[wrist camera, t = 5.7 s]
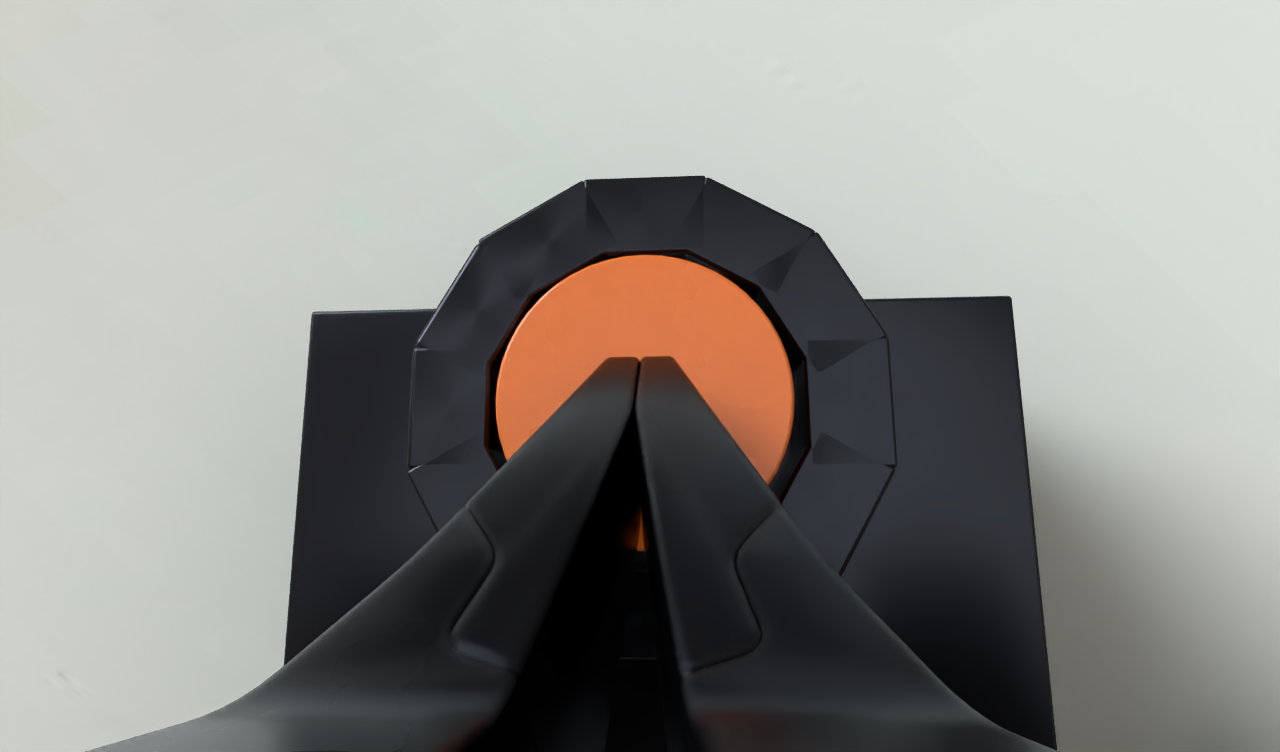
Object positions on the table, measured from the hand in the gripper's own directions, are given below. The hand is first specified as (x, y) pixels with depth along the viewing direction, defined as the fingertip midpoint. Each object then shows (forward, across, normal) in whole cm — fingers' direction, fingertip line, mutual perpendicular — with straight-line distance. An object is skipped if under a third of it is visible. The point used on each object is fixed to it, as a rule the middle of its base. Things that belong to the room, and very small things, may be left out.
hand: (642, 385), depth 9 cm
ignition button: (+1, 0, +2) cm, 2 cm away
